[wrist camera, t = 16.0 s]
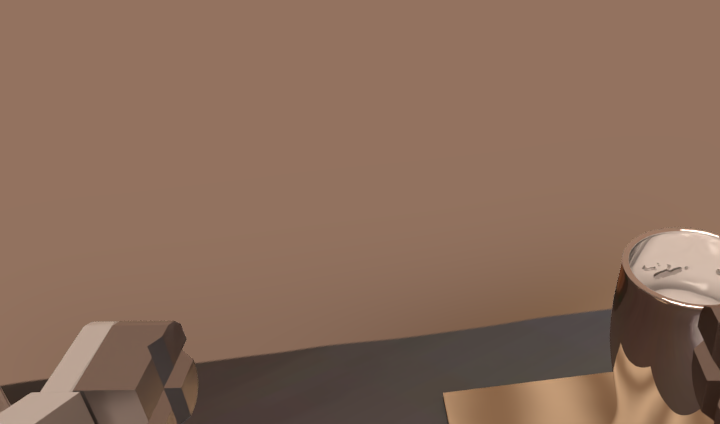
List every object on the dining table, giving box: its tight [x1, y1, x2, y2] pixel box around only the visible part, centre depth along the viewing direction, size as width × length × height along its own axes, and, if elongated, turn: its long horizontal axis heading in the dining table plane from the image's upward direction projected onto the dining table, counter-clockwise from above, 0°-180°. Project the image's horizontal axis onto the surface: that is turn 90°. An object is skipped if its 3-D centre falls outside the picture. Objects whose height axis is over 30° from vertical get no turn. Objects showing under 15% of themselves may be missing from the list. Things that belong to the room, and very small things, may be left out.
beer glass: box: [610, 227, 720, 424], centre depth 38 cm, size 7×7×15 cm
